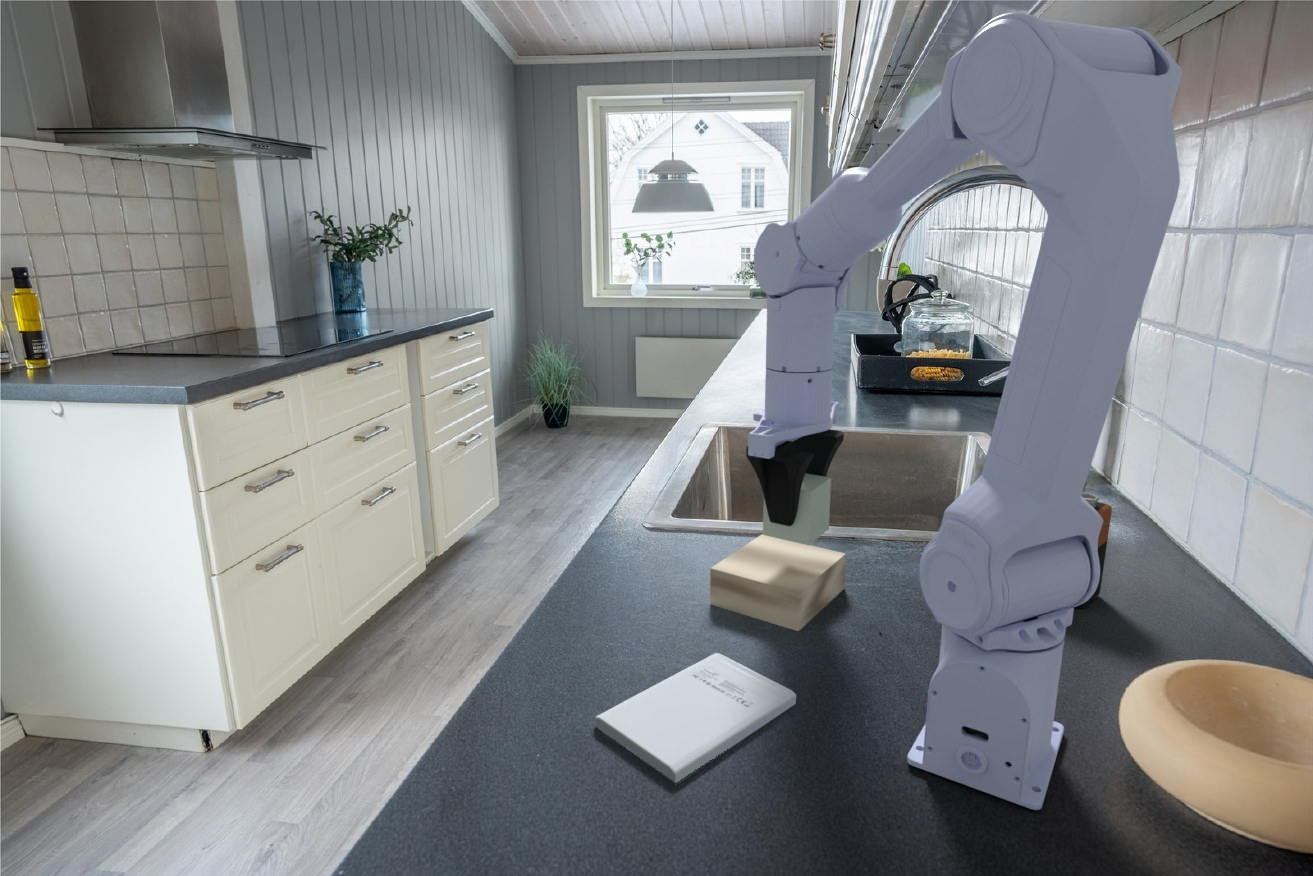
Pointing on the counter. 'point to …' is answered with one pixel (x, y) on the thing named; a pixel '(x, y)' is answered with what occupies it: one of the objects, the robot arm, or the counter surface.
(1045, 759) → the robot arm
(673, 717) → the external hard drive
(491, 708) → the counter surface
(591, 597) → the counter surface
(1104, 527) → the battery
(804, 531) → the sage block
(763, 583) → the birch block
